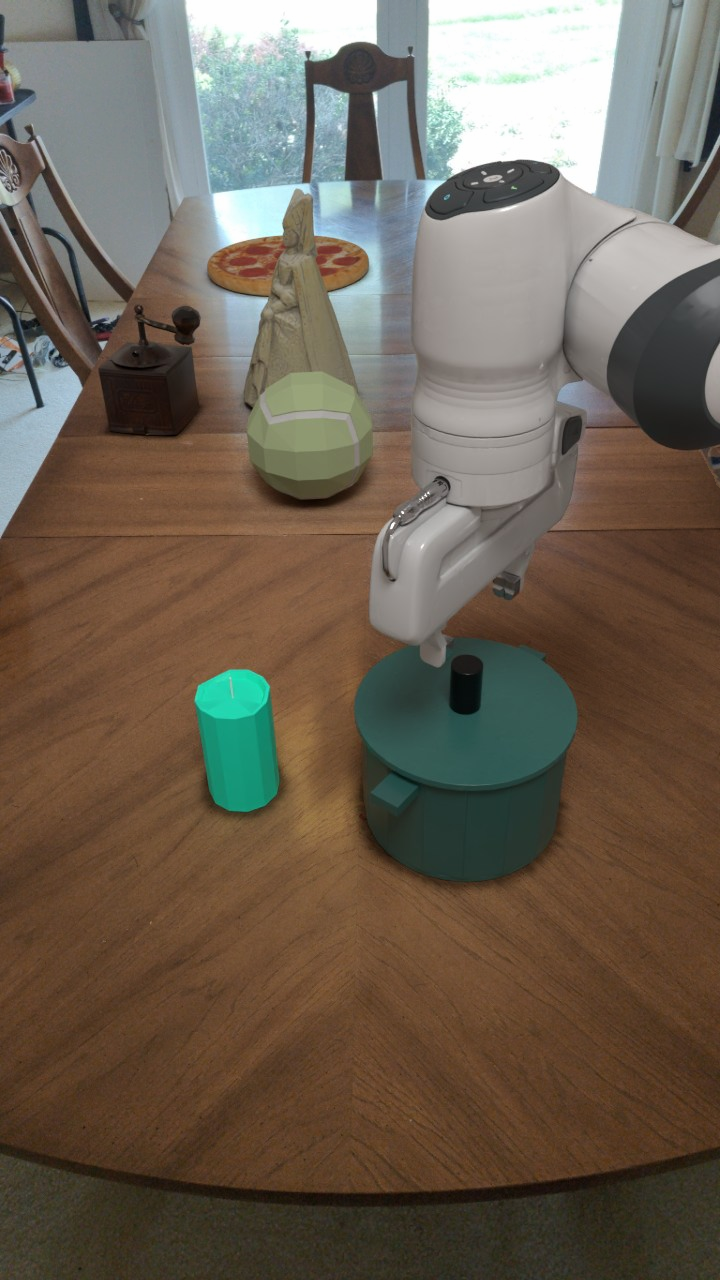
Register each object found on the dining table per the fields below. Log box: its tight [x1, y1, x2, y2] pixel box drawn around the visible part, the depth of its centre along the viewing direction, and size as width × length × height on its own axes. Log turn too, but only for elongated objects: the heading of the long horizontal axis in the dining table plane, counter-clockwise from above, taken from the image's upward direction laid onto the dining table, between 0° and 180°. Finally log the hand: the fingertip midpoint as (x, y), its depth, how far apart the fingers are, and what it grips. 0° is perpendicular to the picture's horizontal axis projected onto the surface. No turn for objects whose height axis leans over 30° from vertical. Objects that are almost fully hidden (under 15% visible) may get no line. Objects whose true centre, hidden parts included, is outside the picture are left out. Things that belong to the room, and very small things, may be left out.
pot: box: [361, 644, 568, 883], centre depth 78 cm, size 16×21×10 cm
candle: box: [194, 669, 281, 813], centre depth 80 cm, size 6×6×12 cm
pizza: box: [206, 234, 370, 297], centre depth 194 cm, size 32×32×3 cm
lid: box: [353, 637, 578, 791], centre depth 74 cm, size 17×17×5 cm
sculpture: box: [243, 188, 359, 409], centre depth 141 cm, size 17×18×30 cm
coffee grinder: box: [97, 303, 202, 436], centre depth 136 cm, size 16×11×18 cm
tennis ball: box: [246, 371, 374, 500], centre depth 120 cm, size 15×15×15 cm
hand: (473, 625), depth 70 cm, fingers open, 8 cm apart
